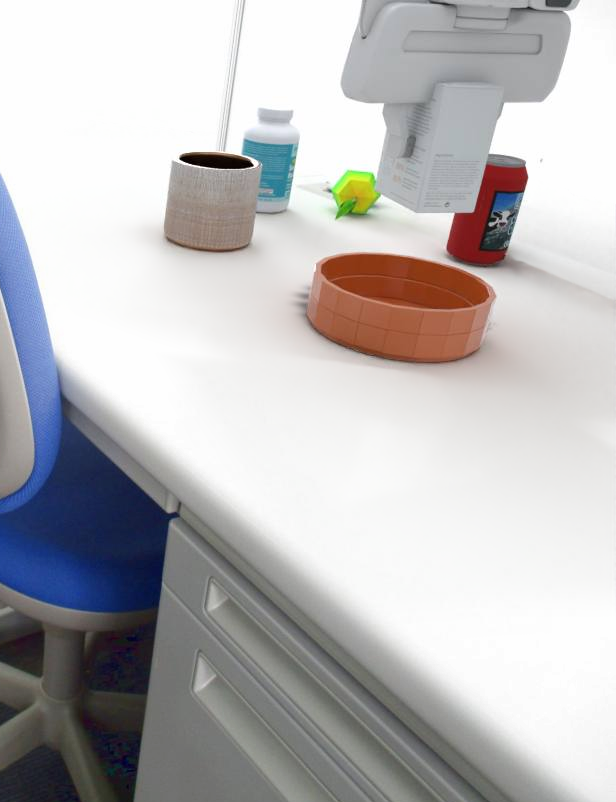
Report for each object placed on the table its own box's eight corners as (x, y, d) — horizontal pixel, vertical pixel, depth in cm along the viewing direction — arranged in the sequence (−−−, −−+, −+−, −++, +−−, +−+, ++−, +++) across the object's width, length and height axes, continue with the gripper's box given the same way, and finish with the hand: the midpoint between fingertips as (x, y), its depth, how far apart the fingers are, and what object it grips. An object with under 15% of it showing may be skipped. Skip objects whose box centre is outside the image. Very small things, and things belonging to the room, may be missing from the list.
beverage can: (497, 272, 101) (528, 168, 96) (438, 259, 104) (464, 158, 99) (507, 258, 106) (537, 158, 101) (450, 246, 110) (476, 149, 104)
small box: (474, 215, 75) (509, 86, 70) (414, 214, 74) (445, 84, 69) (427, 191, 82) (455, 73, 77) (371, 190, 81) (397, 71, 76)
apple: (359, 154, 121) (362, 166, 113) (389, 188, 122) (393, 202, 114) (318, 189, 125) (318, 203, 117) (347, 221, 126) (349, 238, 118)
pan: (403, 292, 93) (414, 247, 91) (519, 353, 80) (536, 302, 78) (274, 305, 88) (282, 257, 86) (375, 373, 75) (388, 319, 72)
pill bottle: (294, 215, 119) (311, 112, 113) (241, 213, 118) (256, 110, 112) (279, 201, 126) (294, 103, 119) (228, 199, 125) (242, 101, 119)
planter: (155, 225, 111) (163, 148, 107) (238, 227, 113) (249, 151, 108) (172, 251, 102) (181, 169, 97) (262, 253, 103) (275, 172, 99)
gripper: (395, -24, 64) (356, 167, 70) (599, -13, 71) (547, 160, 77) (343, -28, 69) (312, 150, 75) (538, -17, 76) (494, 145, 82)
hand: (432, 155), depth 76 cm, fingers closed on small box, 6 cm apart
